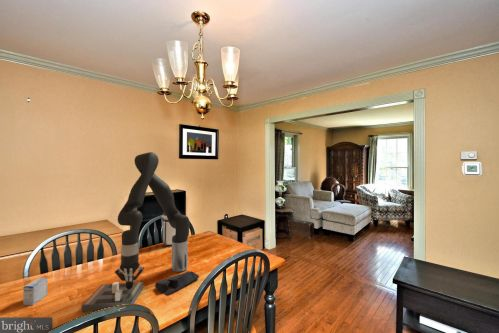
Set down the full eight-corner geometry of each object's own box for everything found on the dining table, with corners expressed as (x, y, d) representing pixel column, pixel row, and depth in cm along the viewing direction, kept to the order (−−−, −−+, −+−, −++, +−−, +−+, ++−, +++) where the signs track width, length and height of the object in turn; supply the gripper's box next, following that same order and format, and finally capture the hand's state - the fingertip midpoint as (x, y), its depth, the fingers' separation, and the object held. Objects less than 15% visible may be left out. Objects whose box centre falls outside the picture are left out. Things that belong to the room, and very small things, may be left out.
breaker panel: (143, 287, 117) (143, 274, 117) (131, 308, 101) (131, 292, 101) (101, 290, 114) (101, 276, 114) (81, 312, 98) (81, 295, 98)
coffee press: (170, 249, 171) (170, 209, 170) (157, 244, 179) (157, 207, 179) (188, 242, 185) (188, 206, 185) (175, 239, 194) (175, 204, 193)
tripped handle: (118, 290, 109) (118, 282, 109) (116, 293, 106) (116, 284, 106) (114, 290, 109) (114, 282, 108) (112, 293, 106) (112, 284, 106)
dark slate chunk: (203, 281, 126) (203, 272, 126) (165, 298, 110) (165, 288, 110) (188, 272, 136) (188, 264, 136) (151, 286, 120) (151, 277, 120)
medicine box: (37, 295, 109) (37, 277, 109) (47, 295, 110) (47, 277, 110) (22, 305, 102) (22, 286, 102) (33, 305, 102) (33, 286, 102)
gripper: (146, 248, 113) (146, 283, 113) (118, 250, 111) (118, 285, 111) (142, 254, 105) (141, 291, 106) (111, 256, 104) (111, 293, 104)
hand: (129, 288), depth 108 cm, fingers closed
